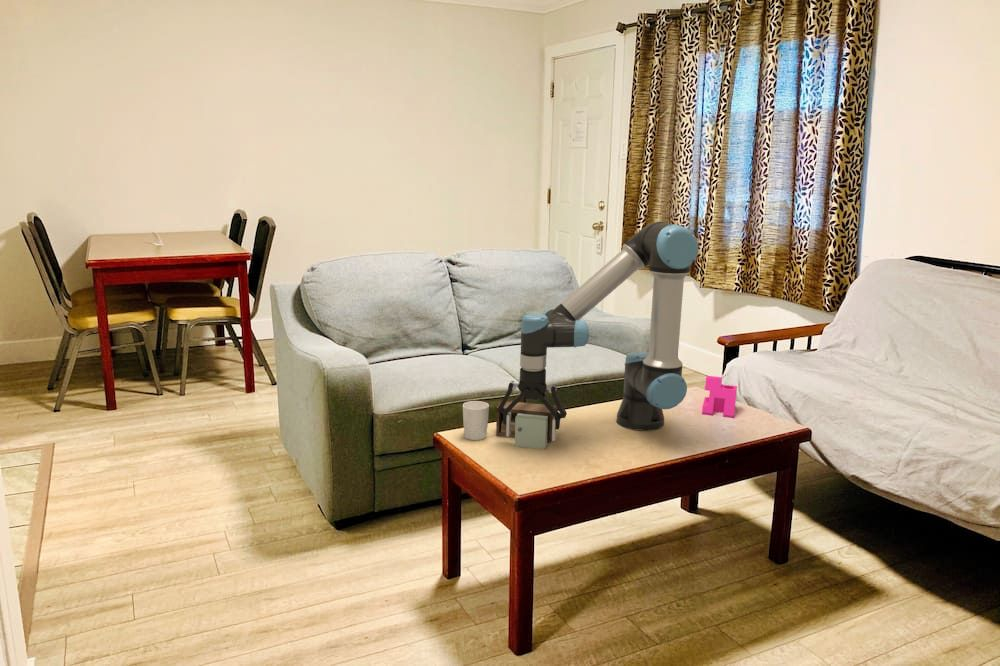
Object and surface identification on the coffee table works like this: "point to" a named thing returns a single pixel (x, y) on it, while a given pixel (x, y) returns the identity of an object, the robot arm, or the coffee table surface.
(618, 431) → the coffee table surface
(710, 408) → the pink notched block
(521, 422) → the sage door
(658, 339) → the robot arm
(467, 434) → the white cup
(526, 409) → the walnut cabinet
